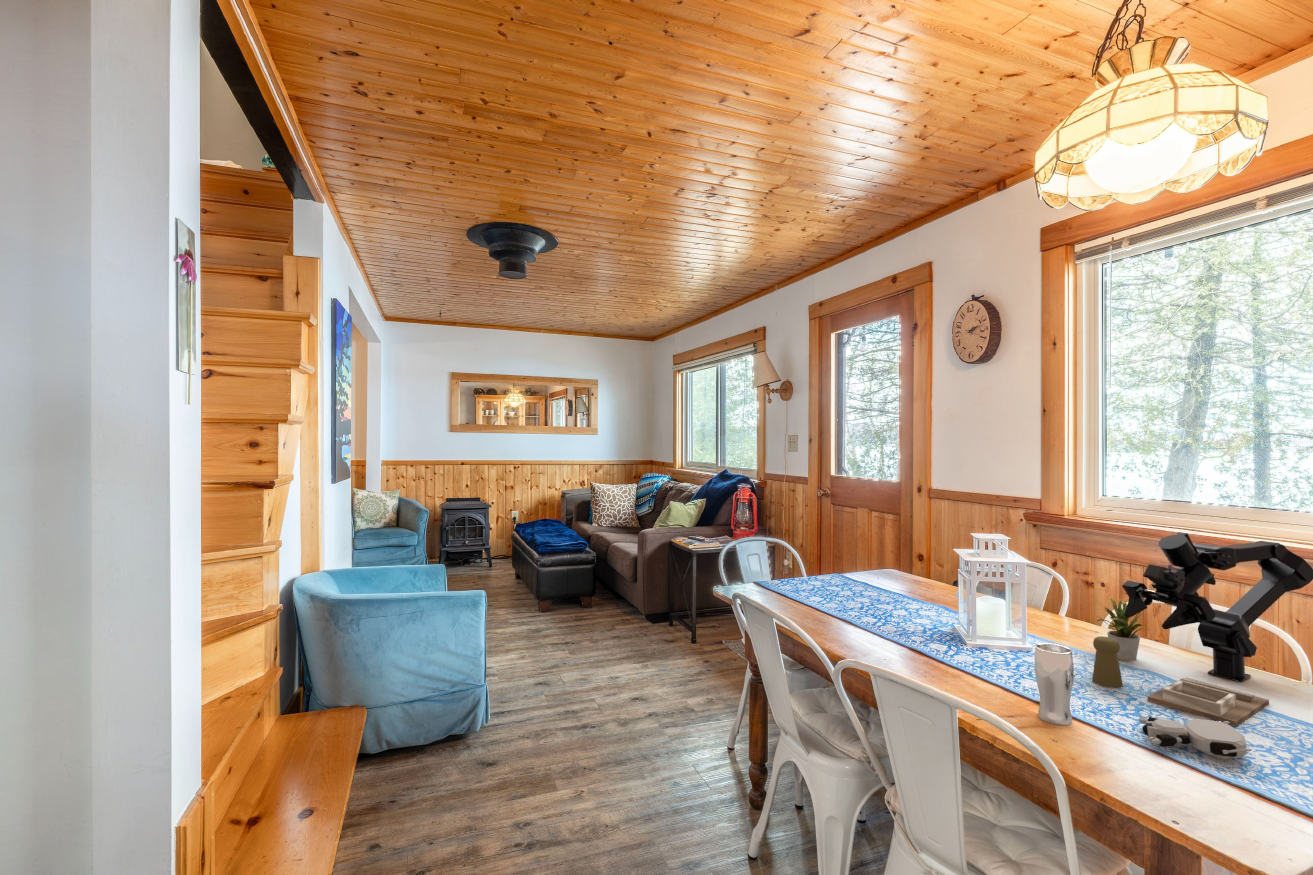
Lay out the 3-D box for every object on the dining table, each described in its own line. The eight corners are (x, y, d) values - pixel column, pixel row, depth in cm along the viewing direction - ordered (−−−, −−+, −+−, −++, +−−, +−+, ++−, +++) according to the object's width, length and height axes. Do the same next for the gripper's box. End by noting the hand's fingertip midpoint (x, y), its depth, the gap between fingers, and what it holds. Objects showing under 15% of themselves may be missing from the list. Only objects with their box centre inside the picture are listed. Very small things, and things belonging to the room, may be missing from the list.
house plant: (1076, 646, 172) (1075, 589, 173) (1129, 648, 170) (1128, 590, 171) (1106, 664, 158) (1105, 602, 158) (1165, 666, 156) (1163, 603, 157)
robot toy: (1151, 758, 113) (1259, 772, 106) (1148, 733, 113) (1255, 746, 106) (1137, 730, 124) (1235, 742, 116) (1135, 708, 124) (1232, 718, 117)
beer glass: (1063, 729, 123) (1061, 655, 123) (1028, 716, 129) (1026, 646, 129) (1082, 721, 126) (1080, 650, 126) (1047, 709, 132) (1046, 640, 132)
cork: (1085, 678, 149) (1084, 634, 149) (1108, 677, 149) (1107, 633, 149) (1106, 688, 143) (1104, 642, 143) (1129, 687, 143) (1128, 641, 143)
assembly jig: (1183, 681, 146) (1183, 667, 146) (1269, 704, 133) (1268, 688, 133) (1147, 700, 136) (1147, 685, 136) (1236, 726, 123) (1236, 709, 123)
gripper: (1131, 549, 156) (1091, 587, 153) (1210, 562, 137) (1166, 606, 135) (1153, 582, 157) (1114, 621, 154) (1234, 600, 139) (1191, 644, 136)
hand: (1143, 622), depth 145 cm, fingers open, 9 cm apart
